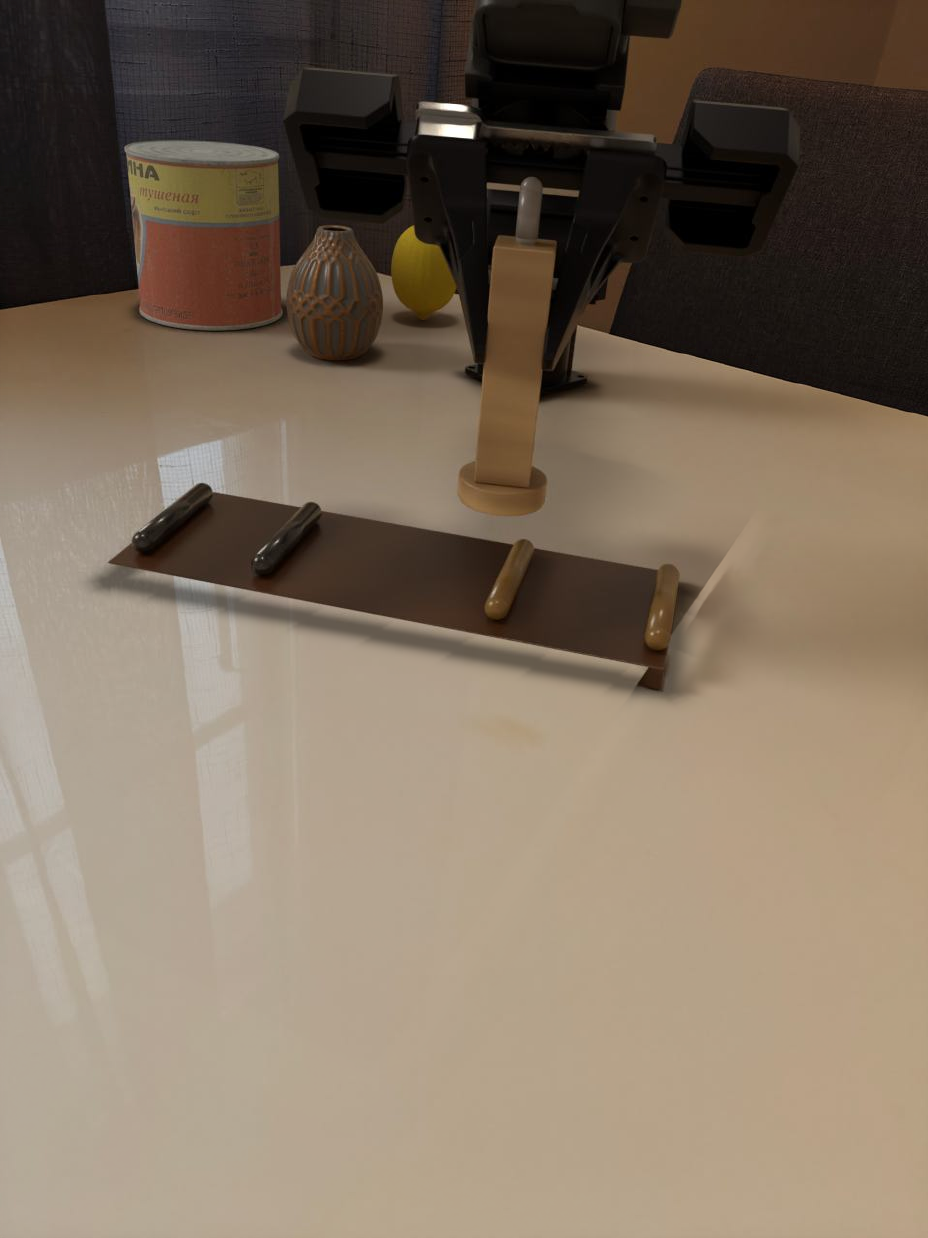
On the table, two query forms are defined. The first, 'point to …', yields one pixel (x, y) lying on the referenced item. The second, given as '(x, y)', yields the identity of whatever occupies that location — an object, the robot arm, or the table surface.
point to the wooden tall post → (513, 369)
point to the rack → (415, 575)
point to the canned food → (206, 233)
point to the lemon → (421, 275)
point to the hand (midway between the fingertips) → (513, 361)
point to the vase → (334, 297)
